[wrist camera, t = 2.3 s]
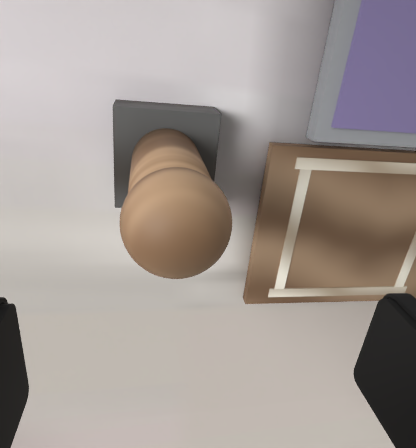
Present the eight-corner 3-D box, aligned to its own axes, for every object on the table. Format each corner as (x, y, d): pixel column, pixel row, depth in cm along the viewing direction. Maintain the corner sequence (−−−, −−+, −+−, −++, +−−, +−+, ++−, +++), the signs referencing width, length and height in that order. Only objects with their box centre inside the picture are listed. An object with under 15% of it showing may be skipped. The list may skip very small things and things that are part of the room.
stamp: (115, 99, 22) (85, 163, 11) (214, 106, 23) (279, 171, 12) (117, 192, 24) (94, 321, 13) (205, 195, 25) (252, 316, 14)
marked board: (269, 142, 24) (273, 145, 23) (472, 154, 27) (482, 157, 26) (243, 297, 30) (245, 304, 29) (412, 293, 33) (419, 300, 32)
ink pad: (348, -66, 20) (363, -73, 18) (516, -36, 22) (540, -41, 20) (305, 137, 24) (315, 142, 23) (446, 145, 26) (462, 151, 25)
